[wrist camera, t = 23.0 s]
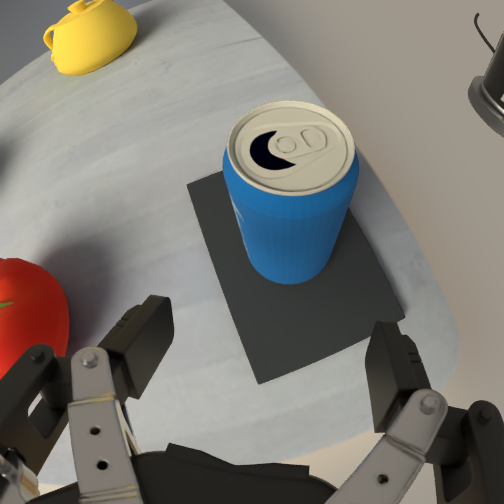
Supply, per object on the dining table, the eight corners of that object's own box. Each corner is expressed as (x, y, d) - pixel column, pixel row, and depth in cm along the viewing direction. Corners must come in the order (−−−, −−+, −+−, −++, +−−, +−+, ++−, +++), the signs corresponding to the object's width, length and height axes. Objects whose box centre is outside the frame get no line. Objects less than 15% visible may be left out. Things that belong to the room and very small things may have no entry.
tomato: (111, 361, 22) (42, 350, 14) (28, 411, 20) (-36, 409, 13) (67, 245, 27) (13, 204, 19) (-3, 305, 25) (-56, 281, 17)
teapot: (123, 66, 38) (95, 4, 26) (41, 94, 40) (9, 48, 28) (156, 16, 46) (140, -32, 34) (82, 39, 48) (62, -1, 36)
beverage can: (236, 225, 25) (202, 116, 14) (310, 200, 25) (322, 84, 14) (263, 299, 22) (243, 225, 11) (343, 269, 23) (391, 176, 12)
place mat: (187, 187, 28) (186, 184, 27) (306, 145, 28) (307, 141, 28) (258, 384, 21) (258, 384, 20) (403, 318, 21) (405, 317, 21)
